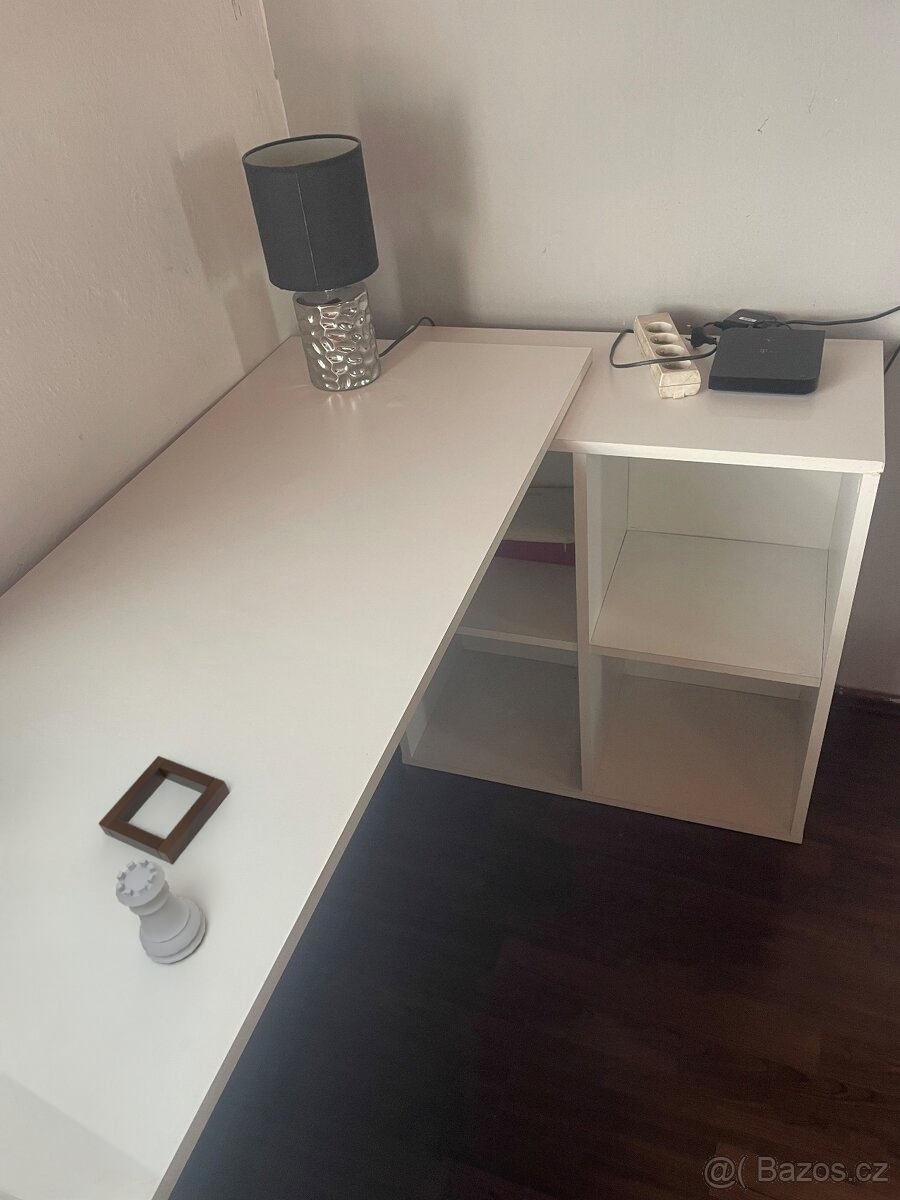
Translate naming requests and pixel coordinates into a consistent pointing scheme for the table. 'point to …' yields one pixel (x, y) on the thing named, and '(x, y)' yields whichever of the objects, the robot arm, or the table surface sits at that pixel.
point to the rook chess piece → (160, 912)
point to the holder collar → (186, 827)
